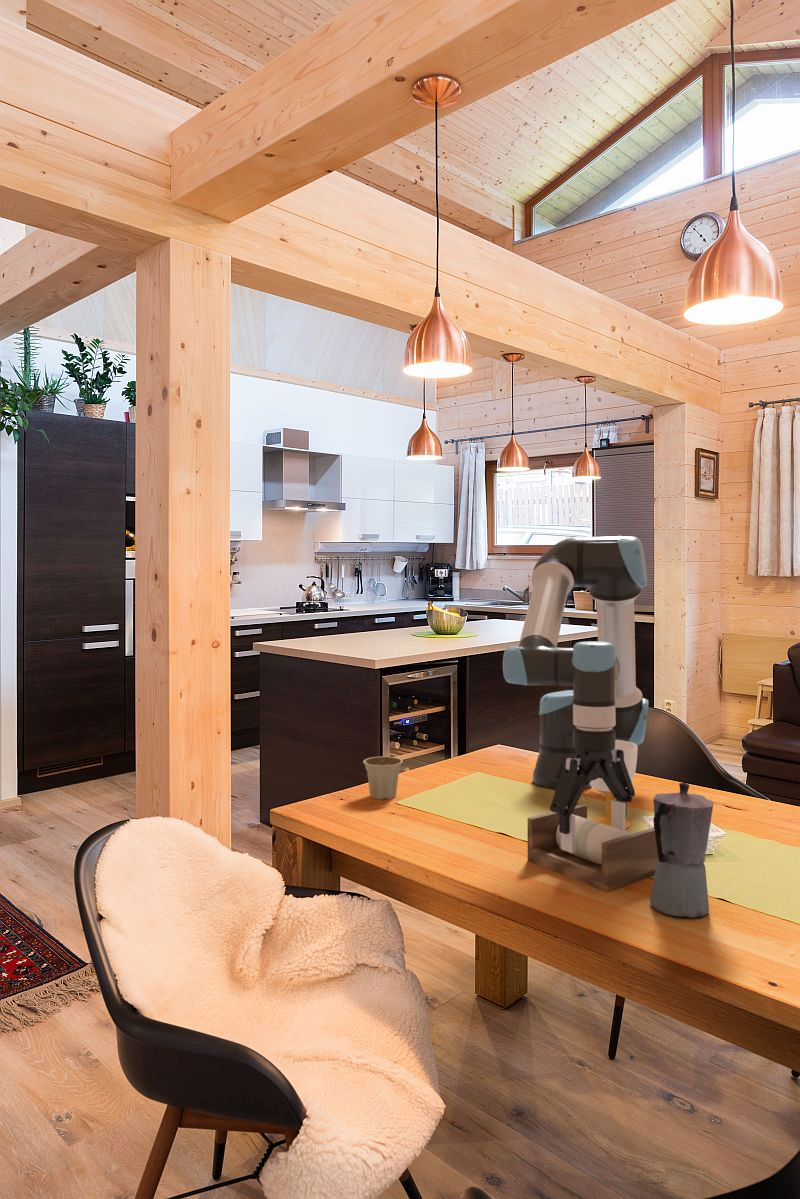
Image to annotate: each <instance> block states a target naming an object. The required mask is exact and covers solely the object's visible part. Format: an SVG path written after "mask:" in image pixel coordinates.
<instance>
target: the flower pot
mask: <svg viewBox="0 0 800 1199" xmlns="http://www.w3.org/2000/svg"><path fill="white" fill-rule="evenodd" d="M363 764H364V767H365V769H366V772H367V774H366V776H367V780H368V787H369V788H368V789H369V794H370V797H371V798H372V799H375V800H384V799H388V800H391V799H394V798H395V797H396V796H397V791H398V790H397V789H398V783H399V774H400V769H401V765H402V764H403V759H401V758H399V757H394V756H373V757H368V758H366V759H364V760H363Z"/></svg>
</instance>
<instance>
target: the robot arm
mask: <svg viewBox="0 0 800 1199" xmlns="http://www.w3.org/2000/svg"><path fill="white" fill-rule="evenodd" d="M531 584H532V587H533V588H532V593H531V596H530V599H529V604H528V608H527V611H526V615H525V619H524V622H523V627H522V631H521V634H520V639H519V642H518V645H514V646H508V647H506V648H505V650H504V651H503V652H504V653H503V657H502V672H503V673H502V674H503V678H504V679H505V682H507V683H508V684H513V685H522V686H550V687H552V686H553V687H572V689H571V690H569V689H568V690H561V691H554V692H549V693H546V694H544V695H543V696H542V697H541V698H540V700H539V711H538V715H539V751H538V752H539V753H538V755H537V759H536V763H535V768H534V769H533V771H532V782H533V783H534V784H536V785H537V786H540V787H543V788H548V789H554V794H553V797H552V800H551V804H550V806H549V810H550V811H549V812H555V813H558V814H559V831H560V832H561V849H562V850H565V851H568V852H570V853H575V816H574V815H571V814H572V812H573V810H574V809H575V807H576V806H577V804H578V803H579V801H580V799H581V797H582V795H583V793H584V791H585V789H586V788H589V787H591V786H590V784H589V783H590V782H591V780H596V779H597V778H602V779H603V781H604V782H605V784H606V785H607V787H608V788H609V790H610V791H611V793H612V794H613V795H612V797H613V798H614V799H612V800H611V827H614V828H618V829H621V830H624V831H627V829H626V821H627V820H626V818H627V813H628V811H627V810H628V809H627V808H628V807H627V806H628V804H627V803H631V802H632V801H633V798H634V796H635V794H636V791H635V788H634V785H633V781H632V782H631V779H630V776H629V773H628V771H627V768H626V765H625V762H624V752H623V750H619V749H615V740H622V741H628V742H631V743H635V744H636V745H637V746H640V745H641V744H643V742H644V740H645V735H646V730H647V722H648V713H649V699H647V698H644V697H643V693H642V691H641V690H640V688H638V687H637V684H636V681H637V680H636V679H637V678H636V675H637V674H636V638H635V637H636V635H635V634H636V632H635V630H636V629H635V600H637V598H638V597H640V595H641V591H642V590H641V589H643V588H645V587H647V585H648V572H647V563H646V556H645V551H644V546H643V543H642V541H641V540H640V539H639V538H638V537H636V536H622V535H616V536H615V535H614V536H589V537H587V536H585V537H580V536H577V537H575V536H574V537H568V538H566V539H563V540H561V541H559V542H557V543H556V544H554V545H552V546H551V547H549V548H548V549H547V550H546V551H545V552H544V553H543V554H542V555H541V556H540V557H539V558H538V560H537V561H536V563H535V565H534V567H533V571H532V574H531ZM578 587H579V588H589V596H590V597H591V598H592V599H593V600H595V601H596V621H597V622H596V626H597V641H596V640H595V641H591V640H589V641H579V642H576V643H575V644H574V645H573V647H558V643H559V642H558V641H559V637H560V632H561V626H562V622H563V616H564V611H565V606H566V602H567V601H566V600H567V596H568V594H569V593H570V592H571V591H572V589H573V588H578ZM611 766H612V767H611ZM626 787H627V788H626ZM566 808H567V809H566Z"/></svg>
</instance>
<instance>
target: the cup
mask: <svg viewBox="0 0 800 1199" xmlns="http://www.w3.org/2000/svg"><path fill="white" fill-rule="evenodd" d="M638 746H639V745H636V744H635V743H631V742H628V741H622V740H615V749H619V750H623V752H624V762H625V765H626V768H627V771H628V773H629V776H630V779H631V782H632V783H633V780H634V778H635V774H636V769H637V763H638V750H639V749H638V748H639V747H638ZM611 767H612V766H611ZM589 784H590V787H591V788H592V789H595V790H596V791H597V792H600V793H602V794H604V796H605V800H606V801H605V802H606V807H605V808H606V809H605V810H606V813H605V816H596V817H591V818H588V819H589V820H593V821H596V822H599V823H603V824H605V825H608V826H611V800H613V799H612V797H613V794H612V793H611V791H610V790H609V788H608V787H607V785H606V784H605V782H604V781H603V779H602V778H597V779H596V780H591V782H590V783H589ZM626 788H627V787H626ZM631 826H632V824H631V823H630V821H628V820H626V830H627V829H630V827H631Z"/></svg>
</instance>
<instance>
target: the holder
mask: <svg viewBox="0 0 800 1199" xmlns="http://www.w3.org/2000/svg"><path fill="white" fill-rule="evenodd" d="M566 809H567V807H566ZM572 814H573V815H576V816H579V817H583V818H586V819H588V805H586V804H583V803H582V804H579V805H576V807H575V809H574V810H573V812H572ZM558 825H559V814H558V813H555V812H552V811H549V812H546V813H542V814H537V815H534V816H530V817H527V861H528V862H531V863H533V864H536V865H538V866H541V867H543V868H545V869H548V870H551V871H553V872H556V873H558V874H561V875H564V876H565V877H568V878H570V879H573V880H576V881H578V882H581V883H583V884H587V885H589V886H590V887H594V888H596V889H599V890H602V891H604V892H611V891H614V890H616V889H619V888H622V887H626V886H628V885H631V884H634V883H636V882H639V881H643V880H645V879H648V878H651V877H654V875H655V869H656V864H657V859H658V852H657V850H658V849H657V844H656V835H655V831H654V830H655V829H654V826H653V827H651V828H647V829H644V830H640V831H636V832H633V833H629V834H630V835H626V836H623V837H619V838H616V839H613V840H609V841H606V842H602V865H600V864H597V863H593V862H591V861H588V860H585V859H582V858H580V857H578V856H575V855H572V854H570V853H567V852H564V851H562V850H561V849H560V848H559V847H558V844H557V841H556V832H557V828H558Z"/></svg>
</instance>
